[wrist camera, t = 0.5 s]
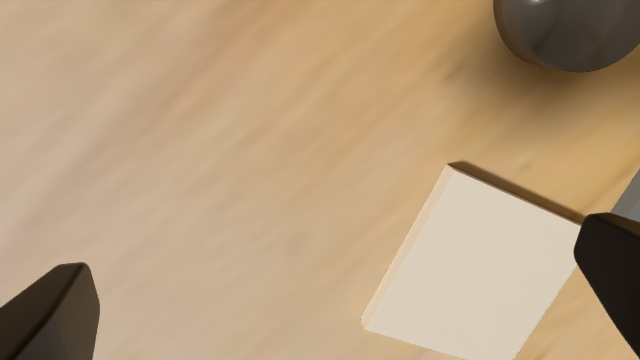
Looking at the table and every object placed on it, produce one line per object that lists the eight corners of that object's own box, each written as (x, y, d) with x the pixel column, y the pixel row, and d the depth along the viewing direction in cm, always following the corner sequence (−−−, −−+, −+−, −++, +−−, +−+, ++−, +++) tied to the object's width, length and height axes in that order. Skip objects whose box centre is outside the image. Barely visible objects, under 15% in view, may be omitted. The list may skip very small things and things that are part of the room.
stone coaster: (496, 359, 29) (504, 371, 28) (360, 318, 26) (364, 329, 25) (585, 226, 27) (598, 233, 26) (446, 164, 24) (455, 170, 23)
